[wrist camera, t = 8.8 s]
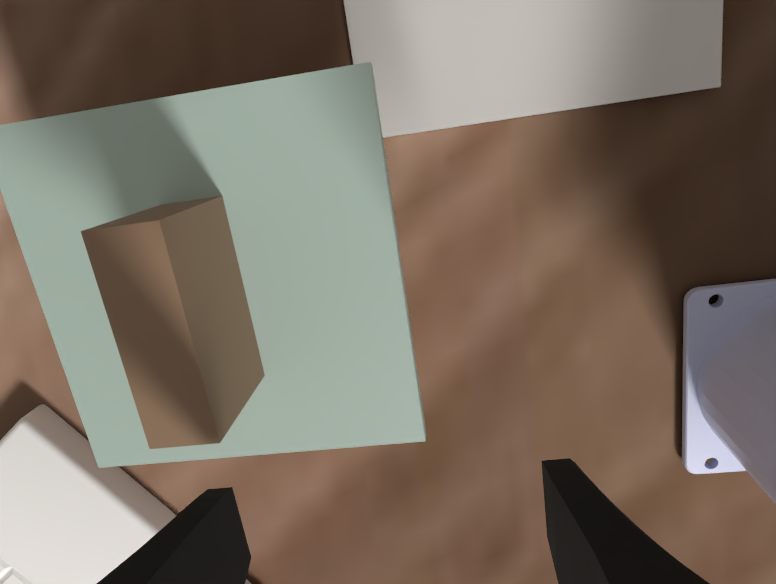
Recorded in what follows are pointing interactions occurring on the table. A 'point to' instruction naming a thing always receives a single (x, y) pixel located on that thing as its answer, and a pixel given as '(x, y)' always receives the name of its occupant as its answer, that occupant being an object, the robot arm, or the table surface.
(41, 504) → the laptop
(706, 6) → the mat
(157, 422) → the lid
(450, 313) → the table surface
